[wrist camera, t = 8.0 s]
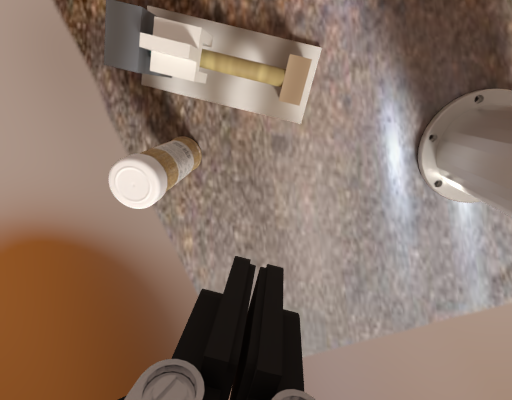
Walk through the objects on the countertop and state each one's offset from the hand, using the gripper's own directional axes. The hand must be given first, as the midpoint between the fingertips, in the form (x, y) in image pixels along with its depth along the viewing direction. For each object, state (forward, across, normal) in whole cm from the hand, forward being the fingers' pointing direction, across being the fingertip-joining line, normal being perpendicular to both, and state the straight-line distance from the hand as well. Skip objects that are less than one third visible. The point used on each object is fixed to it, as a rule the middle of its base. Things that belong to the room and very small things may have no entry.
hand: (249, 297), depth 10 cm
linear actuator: (+27, +8, -8) cm, 29 cm away
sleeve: (+22, +11, -8) cm, 26 cm away
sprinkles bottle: (+27, +11, +3) cm, 30 cm away
